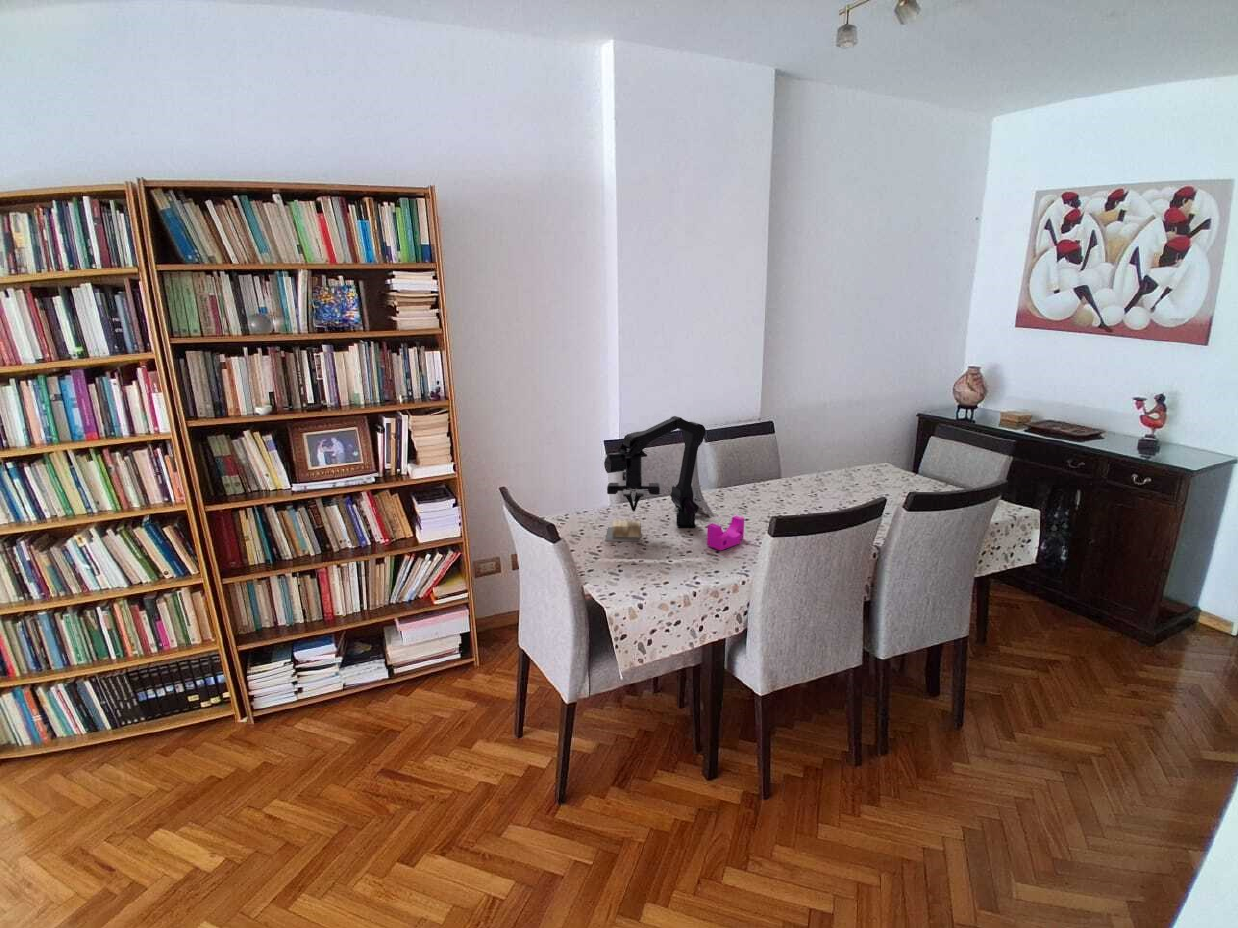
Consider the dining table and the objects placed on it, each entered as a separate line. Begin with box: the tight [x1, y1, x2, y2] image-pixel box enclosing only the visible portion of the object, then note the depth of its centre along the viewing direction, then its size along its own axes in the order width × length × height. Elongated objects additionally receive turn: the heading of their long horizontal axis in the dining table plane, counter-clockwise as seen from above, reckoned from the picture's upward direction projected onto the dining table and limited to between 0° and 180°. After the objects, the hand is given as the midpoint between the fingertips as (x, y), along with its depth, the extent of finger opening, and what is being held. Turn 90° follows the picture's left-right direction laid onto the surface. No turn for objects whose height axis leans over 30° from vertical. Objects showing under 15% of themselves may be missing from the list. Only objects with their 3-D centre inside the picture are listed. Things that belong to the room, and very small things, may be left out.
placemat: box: [604, 526, 640, 543], centre depth 233 cm, size 12×14×1 cm
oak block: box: [612, 520, 642, 538], centre depth 233 cm, size 4×6×10 cm
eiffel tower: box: [672, 455, 717, 518], centre depth 251 cm, size 13×13×30 cm
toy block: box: [706, 515, 745, 551], centre depth 224 cm, size 15×6×8 cm, turn 129°
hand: (633, 511), depth 231 cm, fingers closed
